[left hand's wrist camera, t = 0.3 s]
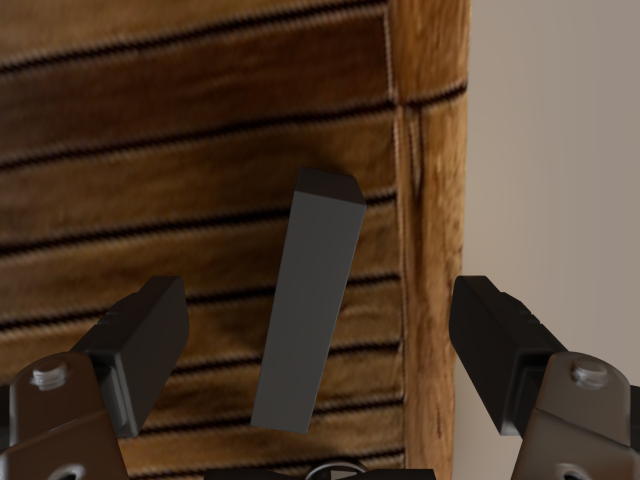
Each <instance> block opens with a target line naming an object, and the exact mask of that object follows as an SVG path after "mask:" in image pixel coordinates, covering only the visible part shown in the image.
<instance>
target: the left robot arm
mask: <svg viewBox="0 0 640 480" xmlns="http://www.w3.org/2000/svg"><path fill="white" fill-rule="evenodd" d="M449 335H450V340H451V343H452V345H453V347H454V349H455V350H456V352H457V354H458V356H459V358H460V360H461V362H462V364H463V366H464V368H465V369H466V371H467V373H468V375H469V377H470V379H471V381H472V383H473V385H474V387H475V388H476V390H477V392H478V394H479V396H480V398H481V400H482V402H483V404H484V406H485V407H486V409H487V411H488V413H489V415H490V417H491V419H492V421H493V423H494V424H495V426H496V428H497V430H498V432H499V434H500V435H501V436H502V435H503V436H506V435H507V436H509V435H510V436H511V435H512V436H513V435H515V436H516V435H517V436H518V435H519V436H521V438H522V439H523V441H522V445H521V448H520V451H519V454H518V458H517V461H516V464H515V467H514V470H513V473H512V477H511V480H640V387H638V386H633V385H630V384H629V382H628V380H627V378H626V377H625V376H624V375H623V374H622V373H621V372H620V371H619V370H618V369H616V368H615V367H613V366H612V365H610V364H608V363H607V362H605V361H603V360H600V359H598V358H596V357H593V356H590V355H587V354H583V353H578V352H570V351H568V350H567V349H566V348H565V347H564V346H563V345H562V344H561V343H560V342H559V341H558V340H557V338H556V337H555V336H554V335H553V334H552V333H551V332H550V331H549V330H548V329H547V328H546V327H545V326H544V325H543V324H540V321H539V320H538V319H537V318H536V317H535V316H534V315H533V314H531V312H530V310H528V308H527V307H526V306H525V305H524V304H523V303H522V302H521V301H519V300H517V299H516V298H514V297H512V296H510V295H509V294H507V293H505V292H500V291H499V290H498V289H497V288H496V287H495V286H494V284H493V283H492V282H491V281H490V280H489V279H488V278H487V277H486V276H457V278H456V280H455V283H454V289H453V297H452V304H451V311H450V318H449ZM188 336H189V318H188V311H187V304H186V297H185V290H184V284H183V280H182V278H181V277H180V276H153V277H151V278H150V279H149V280H148V281H147V282H146V284H145V285H144V286H143V287H142V288H141V289H140V290H139V291H138V292H137V293H132V294H130V295H128V296H127V297H125V298H123V299H121V300H120V301H118V302H116V303H115V304H114V305H113V306H112V308H111V309H110V310H109V311H108V312H107V313H106V315H104V316H103V317H102V318H101V319H100V320H99V321H98V322H97V325H94V326H93V327H92V328H91V329H90V330H89V331H88V332H87V333H86V334H85V335H84V336H83V337H82V338H81V339H80V340H79V341H78V342H77V343H76V344H75V346H74V347H73V348H72V349H71V350H70V351H69V352H62V353H57V354H53V355H50V356H47V357H44V358H42V359H39V360H37V361H35V362H33V363H32V364H30V365H28V366H27V367H25V368H24V369H22V370H21V371H20V372H19V373H18V374H17V375H16V376H15V377H14V378H13V380H12V382H11V384H10V385H9V386H5V387H0V480H129V477H128V473H127V470H126V467H125V464H124V461H123V457H122V454H121V451H120V448H119V445H118V441H117V438H116V437H137V435H138V434H139V432H140V430H141V428H142V426H143V424H144V422H145V420H146V419H147V417H148V415H149V413H150V411H151V409H152V407H153V405H154V404H155V402H156V400H157V398H158V396H159V394H160V392H161V390H162V389H163V387H164V385H165V383H166V381H167V379H168V377H169V375H170V374H171V372H172V370H173V368H174V366H175V364H176V362H177V360H178V359H179V357H180V355H181V353H182V351H183V349H184V347H185V345H186V343H187V340H188ZM204 480H436V477H435V474H434V471H433V469H375V470H371V471H368V470H367V469H366V468H365V467H364V466H363V465H361V464H359V463H357V462H355V461H352V460H347V459H330V460H326V461H323V462H320V463H318V464H316V465H315V466H313V467H312V468H311V469H310V470H309V471H308V472H307V473H306V475H305V478H304V479H300V478H296V477H292V476H288V475H284V474H280V473H277V472H273V471H269V470H265V469H207V471H206V474H205V477H204Z"/></svg>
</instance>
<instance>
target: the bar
mask: <svg viewBox="0 0 640 480" xmlns="http://www.w3.org/2000/svg"><path fill="white" fill-rule="evenodd" d="M366 207H367V205H366V202H365V200H364V197H363V195H362V192H361V190H360V188H359V185H358V183H357V180H356V178H354V177H349V176H344V175H339V174H335V173H330V172H325V171H320V170H315V169H311V168H306V167H300V171H299V175H298V179H297V183H296V187H295V191H294V196H293V201H292V206H291V211H290V217H289V222H288V227H287V233H286V238H285V243H284V248H283V254H282V259H281V264H280V270H279V275H278V280H277V285H276V291H275V296H274V301H273V306H272V312H271V317H270V322H269V328H268V333H267V338H266V343H265V349H264V354H263V359H262V364H261V370H260V375H259V380H258V386H257V391H256V396H255V401H254V407H253V412H252V417H251V422H250V425H251V426H258V427H264V428H271V429H277V430H283V431H290V432H296V433H303V434H307V431H308V427H309V423H310V419H311V415H312V412H313V408H314V404H315V400H316V397H317V393H318V389H319V385H320V381H321V378H322V374H323V370H324V366H325V363H326V359H327V355H328V351H329V347H330V344H331V340H332V336H333V332H334V328H335V325H336V321H337V317H338V313H339V310H340V306H341V302H342V298H343V294H344V291H345V287H346V283H347V279H348V275H349V272H350V268H351V264H352V260H353V257H354V253H355V249H356V245H357V241H358V238H359V234H360V230H361V226H362V222H363V219H364V215H365V211H366Z"/></svg>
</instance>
